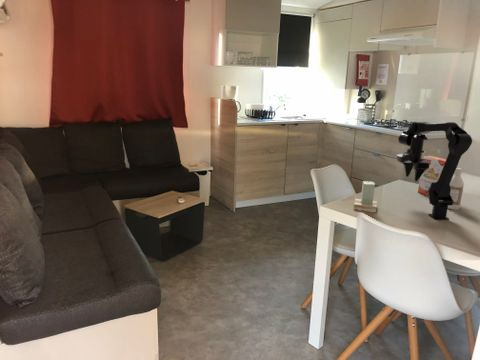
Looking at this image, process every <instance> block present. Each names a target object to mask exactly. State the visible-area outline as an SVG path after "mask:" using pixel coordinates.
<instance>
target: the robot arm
mask: <svg viewBox="0 0 480 360" xmlns="http://www.w3.org/2000/svg"><path fill="white" fill-rule="evenodd" d="M431 132H444V133H445V138H446V140H447V141H448V144H447V148H448V154H447V157H446V162H445V164H444V167H443V169H442V172H441V174H440V177H439V179H438V181H437V182H432V183H431V186H430V188H429V196H428V198H429V199H428V200H429V204H430V205H431V206H432V210H431V213H428V216H429V217H431V218H432V219H434V220H445V221H447V220H450V218H449V217H448V216H447V213H448V210H449V209H448V206H449V205H453V203H454V201H453V199H452V197H451V195H450V192H451V188H450V182H451V180H452V177H453V176H454V172H455V170H456V168H458V166H459V162H460V159H461V158H462V156H463V155H464V154H465V153H466V152H468V151H469V148H470V147H471V146H472V144H473V139H472V135H470V134H469V133H468V132H467V131H466V130H464V129H463V128H462V127H461V126H459V124H458V123H456V122H454V121H449V122H436V123H435V122H433V123H430V122H427V121H414V122H412V123H411V125H410V126H409V128H408V129H407V130H402V133H401V134H400V135H399V137H398V142H399V144H401V145H403V146H408V147H409V148H407V150H406V152H402V153H399V154H396V159H397V162H399V163H401V164H402V165H403V166H404V171H405V177H407V178H408V177H409V176H410V174H411V172H412V170H413V171H414V181H415V182H418V181H419V180H420V177H421V175H422V174H423V173H424V172H425V170H427V169H429V163H427V162H425V161H423V158H422V155H423V154H424V152H425V150H423V148H424V143H425V140H428V137H427V136H426V135H427V134H430V133H431Z"/></svg>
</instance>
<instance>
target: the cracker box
mask: <svg viewBox="0 0 480 360" xmlns="http://www.w3.org/2000/svg"><path fill="white" fill-rule="evenodd" d="M422 159H423V161H425V162H427V163H429V169H427V170H425V172H424V173H423V174H422V175H421V177H420V178H419V180H418V181H419V183H418V189H417V193H419V194H422V195H424V196H428V197H429V188H430V186H431V183H432V182H437V181H438V179H439V177H440V174H441V172H442V169H443V167H444V164H445V162H446V159H447V158H446V159H445V158H443V157H442V158H441V157H437V156H433V155H424V156H423V158H422Z"/></svg>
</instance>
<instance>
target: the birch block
mask: <svg viewBox="0 0 480 360" xmlns="http://www.w3.org/2000/svg"><path fill="white" fill-rule="evenodd" d="M377 203H378V201H377V200H373V204H372V205H366V204H361V198H355V200H354V204H353V210H355V209H360V210H359V211H362V210H364V212H370V213H371V212H372V213H376V212H377V206H378V205H377Z"/></svg>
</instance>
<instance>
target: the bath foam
mask: <svg viewBox="0 0 480 360" xmlns="http://www.w3.org/2000/svg"><path fill="white" fill-rule="evenodd" d="M462 171H463V168H460V167H457V168H456V170H455V172H454V175H453V177H452V180H451V182H450V188H451V192H450V195H451V197H452V199H453V201H454V203H453V205H449V206H448V209H447V210H454V211H457V210H459V209H460V207H461V202H462V195H463V191H464V185H465V184H464V181H463V178H462V176H461V175H462Z"/></svg>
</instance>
